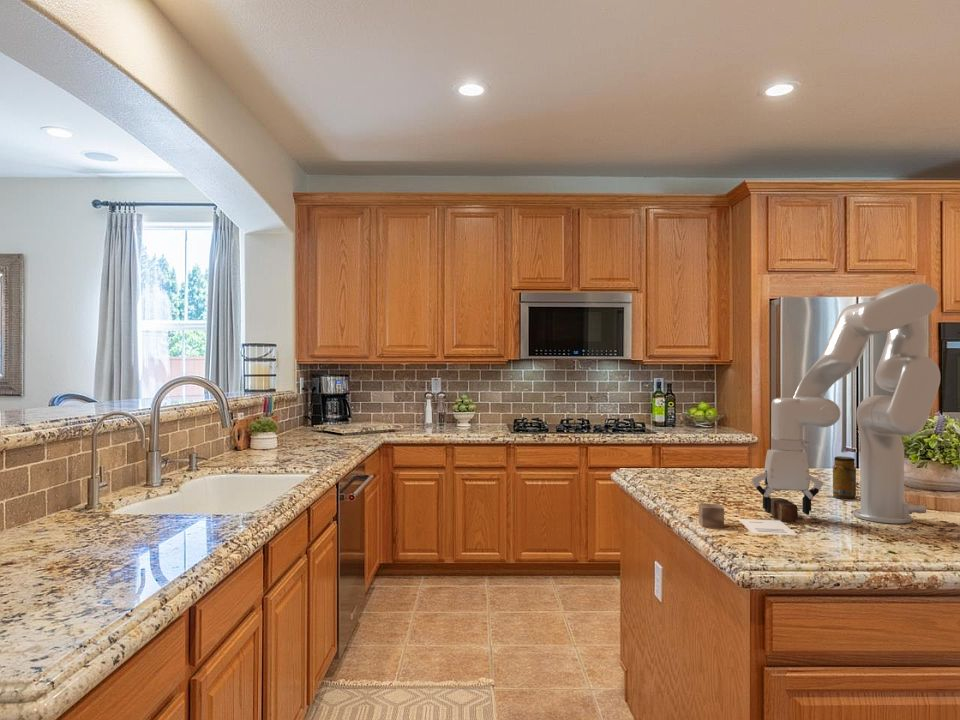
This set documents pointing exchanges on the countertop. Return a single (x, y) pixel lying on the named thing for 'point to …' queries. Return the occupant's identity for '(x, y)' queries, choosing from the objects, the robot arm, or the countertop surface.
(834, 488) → the condiment
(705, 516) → the walnut block
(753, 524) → the letter
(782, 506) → the brick
